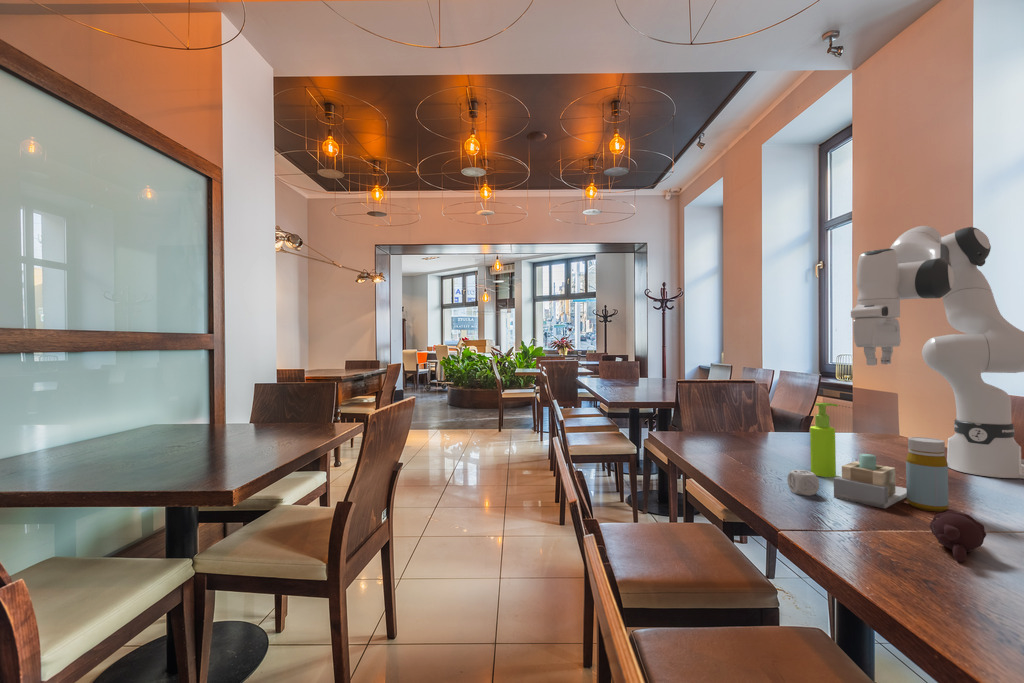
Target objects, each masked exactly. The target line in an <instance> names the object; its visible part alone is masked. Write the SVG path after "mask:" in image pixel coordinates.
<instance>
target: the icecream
mask: <svg viewBox="0 0 1024 683" xmlns="http://www.w3.org/2000/svg"><path fill="white" fill-rule="evenodd" d="M932 518H933V519H932V520H931V521H930V522H929V527H930V530H931V534H933V535H934V537H935V539H936V540H937V542H938V543H939V544H940V545H942V546H944V547H945V548H948V549H950V550H952V556H953V558H954V560H955V561H956V562H958V563H963V562H964V561H966V560H967V554H968V553H971V552H973V551H974V550H976V549H977V548H980V547H982V545H983V543H984V540H985V538H986V537H987V532H986V529H985V526H984V524H982V522H980V521H978V520H976V518H973V517H972V516H971V515H969V514H967V513H964V512H958V511H954V510H945V512H944V511H943V512H939V513H936V514H935V515H934V516H933V517H932Z"/></svg>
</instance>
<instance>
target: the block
mask: <svg viewBox="0 0 1024 683" xmlns="http://www.w3.org/2000/svg"><path fill="white" fill-rule="evenodd" d="M841 478H846V479H851V480H856V481H861V482H866V483H871V484H876V485H881V486H886V487H888V497H889V496H891V495H893V494H895V493H896V491H895V486H896V467H892V466H887V465H880V464H876V470H871V469H865V468H860V467H859V461H856V460H855V461H852V462H850V463H847V464H844V465H841Z"/></svg>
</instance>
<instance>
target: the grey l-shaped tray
mask: <svg viewBox="0 0 1024 683" xmlns="http://www.w3.org/2000/svg"><path fill="white" fill-rule="evenodd" d="M895 491H896V493H895V494H893V495H891V496H889V497H888V487H886V486H881V485H876V484H871V483H866V482H861V481H856V480H851V479H846V478H842V476H835V477H833V497H834V498H837V499H841V500H846V501H849V502H850V501H851V502H854V503H858V504H864V505H867V506H871V507H874V508H875V507H877V508H879V509H887V508H889V507H891V506H893V505H894V504H896V503H898V502H899V501H902V500H904V499H905V498H906V499H907V487H901V486H896V485H895Z"/></svg>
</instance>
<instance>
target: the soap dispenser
mask: <svg viewBox="0 0 1024 683" xmlns="http://www.w3.org/2000/svg"><path fill="white" fill-rule="evenodd" d="M814 405H815V406H816V407H818V413H817V414H815V416H814V422H815V424H814V425H812V426H810V427H809V435H810V438H809V442H810V444H809V445H810V472H813V473H814V474H815V475H816V476H817V477H823V478H835V477H837V466H836V465H837V462H836V460H837V458H836V455H837V454H836V453H837V452H836V428H835V427H832V426H830V425H831V423H830V422H831V421H830V420H831V419H830V415H829V414H827V410H826V409H827V406H828V407H832V406H833V407H838V406H839V405H838V404H836V403H831V402H816V403H814Z"/></svg>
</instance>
